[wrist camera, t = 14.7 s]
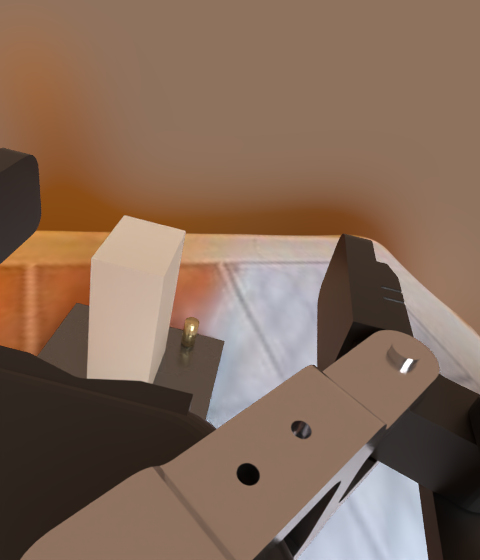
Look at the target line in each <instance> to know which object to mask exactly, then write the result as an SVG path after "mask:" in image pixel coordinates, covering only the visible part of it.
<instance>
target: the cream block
mask: <svg viewBox="0 0 480 560" xmlns="http://www.w3.org/2000/svg"><path fill="white" fill-rule="evenodd" d="M185 233H186V231H184V230H180V229H176V228H172V227H168V226H164V225H161V224H156V223H152V222H149V221H145V220H141V219H137V218H133V217H129V216H124V217H123V218H122V219H121V220H120V222H119V223H118V225H116V227H115V228H114V229H113V231H112V232H111V233H110V235H109V236H108V237H107V238H106V240H105V241H104V242H103V244H102V245H101V246H100V248H99V249H98V250H97V252H96V253H95V254H94V255H93V257H92V258H91V279H90V306H89V333H88V360H87V379H110V380H134V381H143V382H147V383H151V384H153V381H154V379H155V376H156V373H157V371H158V368H159V365H160V363H161V360H162V358H163V355H164V352H165V349H166V343H167V337H168V331H169V326H170V320H171V314H172V308H173V302H174V297H175V291H176V285H177V279H178V273H179V268H180V262H181V256H182V250H183V245H184V239H185Z"/></svg>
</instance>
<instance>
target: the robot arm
mask: <svg viewBox="0 0 480 560" xmlns="http://www.w3.org/2000/svg"><path fill="white" fill-rule="evenodd" d="M40 218H41V201H40V185H39V169H38V163H37V160H36V158H35V157H34V156H33V155H30V154H26V153H22V152H17V151H14V150H10V149H6V148H0V264H1V263H2V262H3V261H4V260H5V259H6V258H7V257H8V256H10V255H11V254H12V253H13V252H14V251H15V250H16V249H17V248H18V247H19V246H20V245H22V244H23V243H24V242H25V241H26V240H27V239H28V238H29V237H30V236H31V235H32V234H33V233H34V232H35V231H36V229H37V227H38V225H39V222H40ZM192 398H193V394H191V393H187V392H183V391H179V390H175V389H171V388H167V387H163V386H159V385H155V384H151V383H147V382H143V381H134V380H110V379H87V378H79V377H76V376H73V375H71V374H69V373H67V372H65V371H63V370H62V369H60V368H58V367H56V366H54V365H52V364H50V363H48V362H46V361H44V360H42V359H40V358H38V357H36V356H34V355H33V354H31V353H28V352H24V351H20V350H16V349H12V348H8V347H4V346H0V560H297V558H298V557H299V556H300V555H301V554H302V553H303V552H304V550H305V549H306V548H307V547H308V546H309V544H310V543H311V542H312V541H313V540H314V538H315V537H316V536H317V534H318V533H319V532H320V530H321V529H322V528H323V526H324V525H325V524H326V523H327V521H328V520H329V519H330V518H331V516H332V515H333V514H334V513H335V512H336V511H337V509H338V508H339V507H340V506H341V505H342V504H343V503H344V502H345V500H346V499H347V498H348V497H349V496H350V495H351V494H352V493H353V491H354V490H355V489H356V488H357V487H358V486H359V485H360V484H361V482H362V481H363V480H364V479H365V478H366V477H367V476H368V475H369V474H370V472H371V471H372V470H373V469H374V468H375V467H376V466H377V465H378V463H379V462H382V463H383V464H385V465H387V466H389V467H390V468H392V469H394V470H396V471H398V472H399V473H401V474H403V475H405V476H407V477H408V478H410V479H412V480H414V481H415V482H417V483H418V484H419V492H420V499H421V507H422V514H423V522H424V529H425V537H426V544H427V552H428V559H429V560H480V395H479V394H477V393H475V392H473V391H471V390H469V389H467V388H465V387H463V386H461V385H459V384H457V383H455V382H452V381H451V380H449V379H447V378H445V377H443V376H442V375H440V374H439V364H438V361H437V359H436V357H435V356H434V354H433V353H432V352H431V351H430V350H429V348H427V347H426V346H425V345H424V344H423V343H421V342H420V341H419V340H417V339H415V338H414V337H413V333H412V330H411V326H410V322H409V318H408V314H407V310H406V306H405V304H404V299H403V295H402V293H401V287H400V283H399V279H398V277H397V276H396V274H395V273H394V272H393V271H392V270H391V268H390V267H389V266H388V265H387V264H385V263H381V262H377V261H376V258H375V253H374V248H373V243H372V241H371V240H367V239H363V238H359V237H355V236H351V235H347V234H342V235H341V237H340V239H339V241H338V243H337V246H336V248H335V251H334V254H333V256H332V259H331V261H330V264H329V267H328V269H327V272H326V274H325V277H324V280H323V282H322V285H321V289H320V293H319V298H318V312H317V367H316V366H315V365H309V366H307V367H305V368H304V369H302V370H301V371H299V372H298V373H296V374H295V375H294V376H292V377H291V378H289V379H288V380H286V381H285V382H284V383H282V384H281V385H279V386H278V387H276V388H275V389H274V390H272V391H271V392H269V393H268V394H266V395H265V396H263V397H262V398H261V399H259V400H258V401H256V402H255V403H253V404H252V405H251V406H249V407H248V408H246V409H245V410H243V411H242V412H241V413H239V414H238V415H236V416H235V417H233V418H232V419H231V420H229V421H228V422H226V423H225V424H223V425H222V426H221V427H219V428H218V429H216V428H215V427H214V426H213V425H211V424H210V423H209V422H207V421H206V420H205V419H203V418H202V417H200V416H198V415H197V414H195V413H193V412H191V411H190V408H191V403H192Z"/></svg>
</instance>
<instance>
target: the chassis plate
mask: <svg viewBox="0 0 480 560" xmlns="http://www.w3.org/2000/svg"><path fill="white" fill-rule="evenodd" d="M198 326H199V321H198V319H196V318H194V317H189V318H187V319H186V320H185V325H184V330H180V329H176V328H172V327H169V331H168V337H167V343H166V349H165V352H164V355H163V358H162V360H161V363H160V365H159V368H158V371H157V373H156V376H155V379H154V381H153V384H155V385H159V386H163V387H167V388H171V389H175V390H179V391H183V392H187V393H191V394H193V398H192V403H191V408H190V411H191V412H193V413H195V414H197V415H198V416H200V417H202V418H203V419H206V415H207V411H208V407H209V403H210V399H211V395H212V391H213V386H214V382H215V378H216V374H217V370H218V366H219V362H220V358H221V353H222V349H223V345H224V341H222V340H218V339H214V338H211V337H207V336H203V335H199V334H197V330H198ZM88 333H89V306H87V305H83V304H79V303H76V304H75V306H74V307H73V308H72V310H71V311H70V313H69V314H68V315H67V317H66V318H65V319H64V321H63V322H62V323H61V325H60V326H59V328H58V329H57V330H56V332H55V333H54V334H53V336H52V337H51V338H50V340H49V341H48V343H47V344H46V345H45V347H44V348H43V349H42V351H41V352H40V353H39V355H38V356H37V357H38V358H40V359H42V360H44V361H46V362H48V363H50V364H52V365H54V366H56V367H58V368H60V369H62V370H63V371H65V372H67V373H69V374H71V375H73V376H76V377H79V378H87V360H88Z"/></svg>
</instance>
